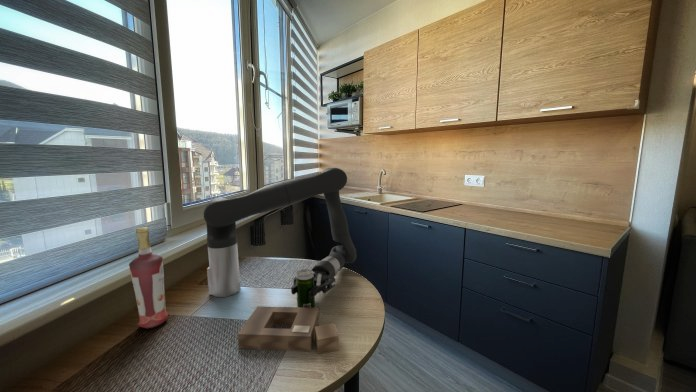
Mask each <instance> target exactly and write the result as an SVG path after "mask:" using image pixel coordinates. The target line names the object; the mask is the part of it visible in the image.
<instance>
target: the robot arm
mask: <svg viewBox="0 0 696 392" xmlns="http://www.w3.org/2000/svg"><path fill="white" fill-rule="evenodd" d="M347 183H348V176H347V173H346V172H345V171H344V170H343V169H341V168H339V167H328V168H325V169H323V170H322V171H321V172H320V173H318V174H315V175H312V176H307V177H300V178H292V179H285V180H282V181H278V182H274V183H271V184H268V185H265V186H264V187H261V188H259V189H257V190H254V191H252V192H251V193H248V194H246V195H241V196H238V197H233V198H227V197H226V198H225V197H215V198H212V199H210V201H208V202H207V204H206V205H205V208H204V210H203V220H204V221H205V222H206V245H207V254H208V265H209V266H208V267H207V268H206V273H207V274H206V275H207V286H208V294H209V295H211V296H213V297H215V298H226V297H229V296H233V295H235V294H236V293H238V292H239V291H240V290H241V279H240V278H241V276H240V265H239V252H238V251H239V250H238V248H239V247H238V237H237V223H236V222H239V221H241V220H244V219H246V218H249V217H251V216H255V215H258V214H259V215H260V214H265V213H267V212H271V211H275V210H279V209H282V208H285V207H288V206H291V205H294V204H297V203H300V202H302V201H305V200H308V199H310V198H312V197H315V196H318V195H323V197H324V199H325V203H326V208H327V211H328V217H329V223H330V231H331V236H332V240H333V241H334V242H335V243H336V242H337V243H340V244H342V245H336V246H333V247H332V248H331V250H330V252H329V255H328V256H326V257H325V258H322V259H321V260H320V261H319V262H318V263H317V264H315V265H314V266H313V267H312V268H311V270H312V271H313V274H314V287H313V288H312V289H311V290H310V291H309V298H312V297H314V296H315V297H316V296H317V295H318V294H320V293H321V292H322V293H323V294H326V293H328V292H329V291H330V290H332V289H333V288H334V287H336V278H335V277H336V276H337V275H338V274H339V272H340V271H342V269H343V268H344V266H345V264H352V263H354V262H355V261H356V260H357V250H356V247H355V245H354V242H353V241H352V238H351V235H350V229H349V223H348V219H347V215H346V212H345V210H344V207H343V205H342V202H341V197H340V191H341V190H342V189H344V188H345V187H346V185H347ZM290 289H291V290H290V291H291V294H292V295H296V294H297V287H296V276H295V277H294V278H293V285H292V286H291V288H290Z"/></svg>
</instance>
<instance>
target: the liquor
mask: <svg viewBox="0 0 696 392" xmlns="http://www.w3.org/2000/svg"><path fill="white" fill-rule="evenodd" d="M135 233H136V237H137V240H138V256H137V257H135V258H134V259H132V260H131V262H129V263H128V266H129V271H130V277H131V283H132V285H133V289H134V294H135V300H136V305H137V309H138V310H137V311H138V317H139V322H138V323H137V325H138V326H139V327H141V328H143V329H147V330H149V328H150V329H154V327H155V328H156V327H159V326H160V325H162V324H163V323H165V322H166V320H167V319H168V318H169V313H168V312H167V309H166V294H165V293H166V292H165V273H164V272H165V271H164V260H163V256H161V255H159V254H155V253H153V251H152V246H151V243H150V229H149V227H147V226H146V227H145V226H144V227H138V228H136V229H135Z"/></svg>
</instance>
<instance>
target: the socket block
mask: <svg viewBox="0 0 696 392" xmlns="http://www.w3.org/2000/svg"><path fill="white" fill-rule="evenodd" d="M319 308H320V307H315V308H304V307H297V306H296V307H295V306H264V305H263V306H262V305H260V306H259V305H258V306H256V307H255V309H254V311H253V312H252V313H251V315H250V316H249V317H248V318H247V320H246V322H245V323H244V324H243V326H242V327H241V329H240V330H239V332H237V342H238V343H237V345H238V349H239V348H248V349H247V350H256V349H265V350H264V351H289V352H312V350H313V345H314V342H315V327H316V326H319V324H320V309H319ZM274 326H291V327H290V328H277V327H276V328H274Z"/></svg>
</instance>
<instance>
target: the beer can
mask: <svg viewBox="0 0 696 392" xmlns="http://www.w3.org/2000/svg"><path fill="white" fill-rule="evenodd" d="M295 277H296V287H297V293H296V302H297V303H296V304H297V305H296V307H304V308H316V307H315V306H316V301H315V299H316V298H315V297H316V295H315V296H314V297H312V298H309V291H310V290H311V289H312V288H313V287H314V274H313V271H312V269H310V268H304V269H300V270H298V271H297V272H296V275H295Z"/></svg>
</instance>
